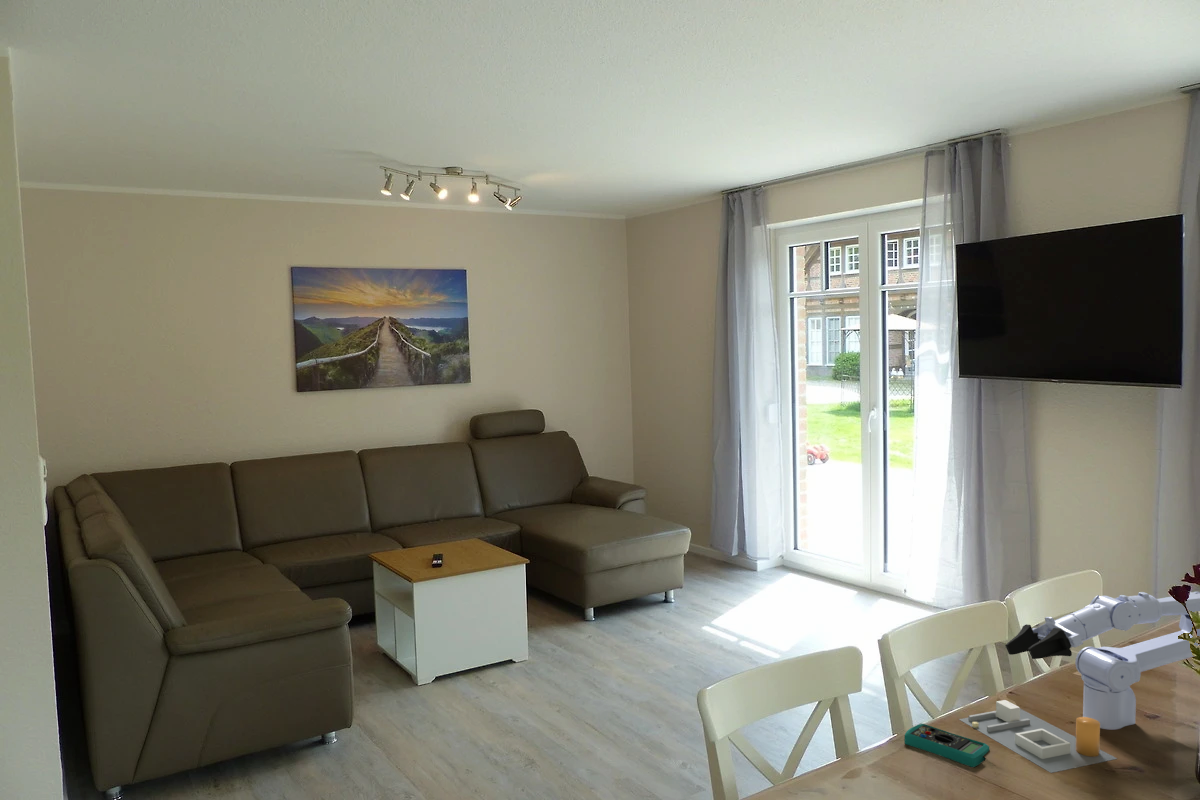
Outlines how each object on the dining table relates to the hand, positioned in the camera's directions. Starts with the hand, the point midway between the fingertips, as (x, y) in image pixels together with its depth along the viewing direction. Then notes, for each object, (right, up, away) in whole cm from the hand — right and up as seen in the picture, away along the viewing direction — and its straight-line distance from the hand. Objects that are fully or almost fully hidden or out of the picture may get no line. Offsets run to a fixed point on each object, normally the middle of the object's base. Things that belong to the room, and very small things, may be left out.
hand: (1019, 651), depth 174 cm
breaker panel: (+2, -18, -2) cm, 18 cm away
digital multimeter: (-16, -19, -3) cm, 25 cm away
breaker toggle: (+1, -16, +6) cm, 17 cm away
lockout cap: (+9, -17, -8) cm, 21 cm away
